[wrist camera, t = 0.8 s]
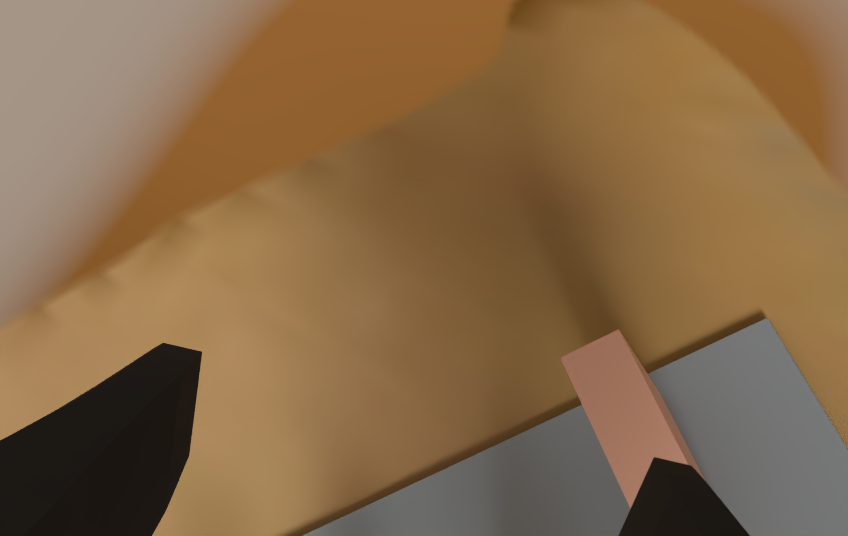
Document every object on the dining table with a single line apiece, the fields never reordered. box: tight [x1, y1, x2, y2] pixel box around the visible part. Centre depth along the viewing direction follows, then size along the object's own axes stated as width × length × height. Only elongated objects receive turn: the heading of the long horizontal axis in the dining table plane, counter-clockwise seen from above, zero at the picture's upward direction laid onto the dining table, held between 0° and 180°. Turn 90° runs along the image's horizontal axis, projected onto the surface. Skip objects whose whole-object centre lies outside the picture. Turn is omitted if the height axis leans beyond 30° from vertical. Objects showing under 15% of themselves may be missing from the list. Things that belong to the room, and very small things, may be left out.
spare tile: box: [560, 329, 705, 509], centre depth 23 cm, size 4×2×8 cm, turn 21°
